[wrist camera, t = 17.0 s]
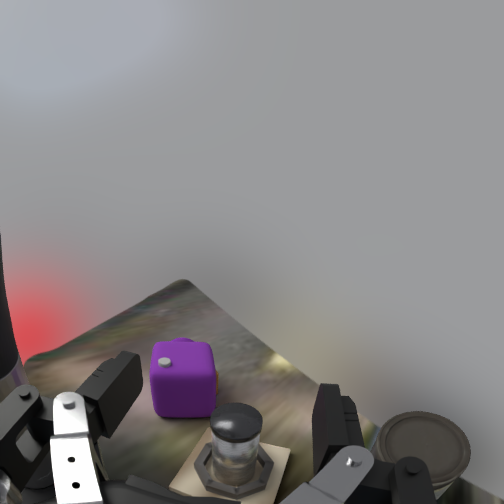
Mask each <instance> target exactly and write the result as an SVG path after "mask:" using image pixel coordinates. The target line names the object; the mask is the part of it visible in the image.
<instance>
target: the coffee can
mask: <svg viewBox="0 0 504 504" xmlns="http://www.w3.org/2000/svg"><path fill="white" fill-rule="evenodd" d="M370 452H371V453H372V455H373V457H374V458H375V459H377V460H380V461H384V462H390V463H395V464H396V463H397V461H398V460H400V459H401V458H403V457H408V456H412V457H417V458H419V459H421V460H423V461H424V462H425V463H426V465H427V467H428V470H429V473H430V477H431V481H432V485H433V489H434V493H435V497H436V500H437V499H438V498H439V497H440V496H441V495H442V494H443V493H444V492H445V491H446V490H447V488H448V487H449V486H450V485H451V484H452V483H453V482H454V481H455V480H456V479H457V478H458V477H459V476H460V475H461V474H462V473H463V472H464V470H465V469H466V467H467V466H468V463H469V461H470V454H471V450H470V444H469V441H468V439H467V437H466V435H465V434H464V432H463V431H462V430H461V429H460V428H459V427H458V426H457V425H456V424H454V423H453V422H452V421H450V420H448V419H447V418H445V417H442V416H440V415H437V414H433V413H429V412H423V411H421V412H420V411H413V412H406V413H402V414H399V415H396V416H394V417H392V418H391V419H389V420H388V421H387V422H386V423H385V424H384V425H383V426H382V428H381V429H380V431H379V433H378V436H377V439H376V442H375V444H374V445H373V447H372V450H371V451H370Z"/></svg>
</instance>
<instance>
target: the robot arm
mask: <svg viewBox="0 0 504 504" xmlns="http://www.w3.org/2000/svg"><path fill="white" fill-rule="evenodd" d="M142 387H143V377H142V369H141V361H140V356H139V355H138V354H135V353H131V352H127V351H122V352H121V353H120V354H119V355H118V356H117V357H116V358H115V359H113V358H111V359H109V360H107V361H105V362H103V363H102V364H101V365H100V366H99V367H98V368H97V370H95V371H94V372H93V373H92V375H90V376H89V377H88V378H87V380H86V381H85V382H84V383H83V384H82V385H81V386H80V387H79V388H78V389H77V390H76V391H75V392H64V393H61V394H59V395H58V396H57V397H56V398H55V399H54V398H48V397H42V396H40V394H39V391H38V389H37V388H36V387H34V386H32V385H30V384H29V382H28V379H27V376H26V373H25V371H24V368H23V365H22V362H21V358H20V355H19V352H18V349H17V345H16V342H15V338H14V334H13V328H12V322H11V317H10V312H9V308H8V302H7V297H6V291H5V283H4V275H3V263H2V250H1V235H0V504H21V503H22V495H21V492H22V490H23V489H24V487H28V488H33V489H40V488H44V487H47V486H50V485H52V484H53V483H55V490H56V496H57V497H56V498H52V499H49V500H45V501H42V502H38V503H34V504H241V501H234V500H228V499H222V498H217V497H197V496H181V495H178V494H176V493H174V492H172V491H170V490H168V489H166V488H164V487H163V486H161V485H159V484H157V483H155V482H152V481H149V480H146V479H143V478H140V477H137V476H134V475H131V474H130V475H129V477H128V479H127V480H109V479H108V476H107V473H106V470H105V466H104V462H103V458H102V454H101V450H100V446H99V442H98V438H99V437H100V436H101V435H102V436H104V437H107V438H109V439H110V437H111V436H112V434H113V433H114V431H115V430H116V428H117V427H118V425H119V424H120V422H121V421H122V419H123V418H124V416H125V415H126V413H127V412H128V410H129V409H130V407H131V406H132V404H133V403H134V401H135V400H136V399H137V397H138V396H139V394H140V392H141V390H142ZM312 437H313V467H314V478H313V479H312V480H311V481H310V482H304V483H303V484H301V485H300V486H299V487H298V488H297V489H296V490H294V491H293V492H292V493H291V494H290V495H289V496H288V497H286V498H285V499H284V500H283V501H282V502H281V503H279V504H437V501H436V497H435V493H434V489H433V485H432V481H431V477H430V473H429V470H428V467H427V465H426V463H425V462H424V461H423V460H421V459H419V458H417V457H412V456H408V457H403V458H401V459H400V460H398V461H397V463H396V464H395V463H390V462H384V461H380V460H377V459H375V458H374V457H373V455H372V453H371V452H370V451H369V450H367V449H366V448H365V446H364V442H363V437H362V432H361V428H360V423H359V419H358V414H357V410H356V406H355V403H354V402H353V401H352V400H351V398H350V397H349V396H341V395H340V389H339V385H338V384H322V383H321V384H320V387H319V391H318V394H317V398H316V401H315V405H314V409H313V414H312Z"/></svg>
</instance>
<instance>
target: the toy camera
mask: <svg viewBox="0 0 504 504" xmlns="http://www.w3.org/2000/svg"><path fill="white" fill-rule="evenodd" d="M150 385H151V393H152V400H153V406H154V410H155V412H156V413H157V415H159V416H162V417H209V416H211V413H212V412H213V411H214V410H215V406H216V394H218V372H217V371H216V370H215V365H214V359H213V353H212V349H211V347H210V345H209V344H207V343H204V342H194V341H193V340H191V339H188V338H176V339H174V340H172V341H168V342H158V343H156V344H155V345H154V348H153V352H152V358H151V365H150Z"/></svg>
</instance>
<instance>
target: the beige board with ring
mask: <svg viewBox="0 0 504 504" xmlns="http://www.w3.org/2000/svg"><path fill="white" fill-rule="evenodd" d="M290 450H291V449H288V448H283V447H278V446H274V445H269V444H265V443H261V442H259V445H258V453H257V460H256V468H255V474H254V476H253V478H252V479H251V480H250V481H249V482H247V483H245V484H243V485H238V486H232V485H227V484H224V483H222V482H220V481H219V480H218V479H217V478H216V477H215V476H214V473H213V461H212V433H211V428H207V429H206V431H205V433H204V434H203V436H202V437H201V439H200V440H199V442H198V443H197V445H196V446H195V448H194V450H193V451H192V453H191V454H190V456H189V457H188V459H187V460H186V462H185V463H184V465H183V466H182V468H181V469H180V471H179V472H178V474H177V475H176V477H175V478H174V479H173V481H172V482H171V484H170V485H169V489H170V490H171V491H173V492H176V493H178V494H180V495H183V496H197V497H217V498H222V499H228V500H234V501H241V504H273V503H274V500H275V497H276V494H277V491H278V488H279V485H280V482H281V479H282V476H283V473H284V470H285V466H286V463H287V460H288V457H289V453H290Z"/></svg>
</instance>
